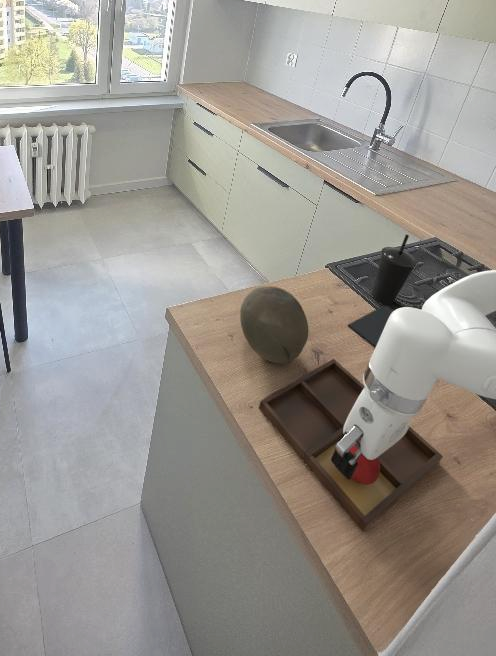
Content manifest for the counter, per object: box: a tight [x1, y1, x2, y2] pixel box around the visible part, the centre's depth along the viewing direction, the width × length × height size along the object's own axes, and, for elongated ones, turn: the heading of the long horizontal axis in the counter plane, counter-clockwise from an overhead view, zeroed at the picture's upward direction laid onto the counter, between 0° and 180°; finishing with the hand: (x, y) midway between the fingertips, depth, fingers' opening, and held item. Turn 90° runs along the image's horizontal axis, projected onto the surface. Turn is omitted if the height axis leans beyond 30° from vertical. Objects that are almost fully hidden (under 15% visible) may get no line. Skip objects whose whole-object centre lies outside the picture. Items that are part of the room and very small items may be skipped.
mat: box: [347, 305, 393, 349], centre depth 97 cm, size 16×14×1 cm
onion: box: [349, 441, 380, 485], centre depth 69 cm, size 6×6×8 cm
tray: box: [258, 358, 444, 532], centre depth 76 cm, size 21×21×2 cm
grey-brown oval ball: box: [239, 285, 309, 364], centre depth 90 cm, size 14×14×15 cm
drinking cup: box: [371, 234, 418, 306], centre depth 105 cm, size 8×8×20 cm
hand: (359, 454), depth 68 cm, fingers open, 9 cm apart
